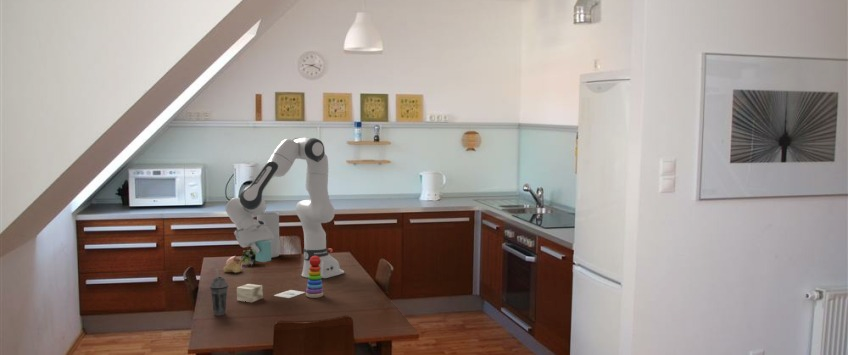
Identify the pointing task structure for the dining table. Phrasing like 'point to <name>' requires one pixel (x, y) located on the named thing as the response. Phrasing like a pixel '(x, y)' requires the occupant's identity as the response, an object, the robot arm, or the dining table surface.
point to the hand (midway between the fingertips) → (264, 250)
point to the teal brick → (263, 251)
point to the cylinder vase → (272, 229)
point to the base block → (249, 292)
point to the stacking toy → (314, 279)
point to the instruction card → (289, 294)
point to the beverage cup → (219, 294)
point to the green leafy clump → (249, 256)
